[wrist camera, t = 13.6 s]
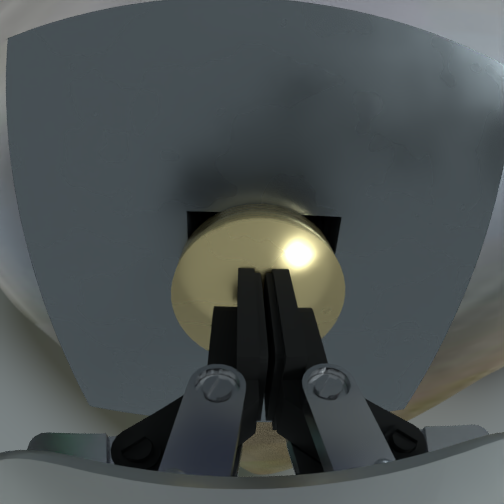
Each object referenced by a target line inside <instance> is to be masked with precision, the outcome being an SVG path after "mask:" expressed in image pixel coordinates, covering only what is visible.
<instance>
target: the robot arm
mask: <svg viewBox="0 0 504 504" xmlns="http://www.w3.org/2000/svg"><path fill="white" fill-rule="evenodd" d="M263 400H264V404H265V418H266V421H272V427H273V430H277V433H278V434H280V435H281V436H283V437H284V438H285V439H286V444H287V448H288V452H289V455H290V459H291V462H292V465H293V469H294V472H295V475H290V476H269V477H238V471H239V466H240V460H241V454H242V448H243V443H244V442H245V441H246V440H247V439H249V438H250V437H251V436H252V435H253V434H255V431H256V423H257V421H261V415H262V408H263ZM0 504H504V432H502V433H495V434H490V435H489V433H488V432H487V431H486V430H485V429H484V428H483V427H481V426H479V425H458V426H426V427H424V428H423V429H419V428H417V427H416V426H414V425H413V424H411V423H409V422H407V421H405V420H403V419H402V418H400V417H398V416H396V415H394V414H392V413H390V412H389V411H387V410H385V409H383V408H381V407H380V406H378V405H376V404H374V403H372V402H371V401H369V400H367V399H365V398H364V396H363V394H362V392H361V390H360V388H359V386H358V385H357V383H356V381H355V379H354V377H353V376H352V375H351V373H350V372H349V371H347V370H346V369H345V368H343V367H340V366H338V365H335V364H329V363H328V361H327V358H326V354H325V350H324V347H323V343H322V340H321V336H320V332H319V329H318V325H317V322H316V318H315V315H314V311H313V309H312V308H298V306H297V301H296V297H295V293H294V289H293V284H292V280H291V276H290V272H289V269H272V271H271V273H266V274H265V284H264V296H263V289H262V279H261V273H255V269H254V268H238V290H237V307H229V306H214V308H213V316H212V325H211V335H210V344H209V354H208V364H207V365H206V366H204V367H201V368H199V369H198V370H196V371H195V372H194V373H193V374H192V376H191V377H190V379H189V381H188V384H187V387H186V390H185V393H184V395H183V396H181V397H179V398H178V399H176V400H175V401H173V402H171V403H170V404H168V405H167V406H165V407H163V408H162V409H160V410H158V411H157V412H155V413H153V414H152V415H150V416H149V417H147V418H145V419H143V420H142V421H140V422H138V423H137V424H135V425H133V426H132V427H130V428H128V429H126V430H124V431H123V432H121V433H120V434H119V435H118V436H111V437H110V436H109V437H108V436H107V434H75V433H74V434H73V433H72V434H71V433H41V434H39V435H37V436H35V437H34V438H33V439H32V440H31V441H30V443H29V446H28V449H27V450H15V451H6V452H2V453H0Z"/></svg>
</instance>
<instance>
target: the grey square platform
mask: <svg viewBox="0 0 504 504" xmlns="http://www.w3.org/2000/svg"><path fill="white" fill-rule="evenodd" d="M6 108H7V126H8V139H9V149H10V158H11V166H12V173H13V180H14V186H15V192H16V198H17V203H18V208H19V213H20V218H21V222H22V227H23V231H24V235H25V239H26V243H27V247H28V251H29V255H30V258H31V262H32V266H33V269H34V272H35V276H36V279H37V282H38V285H39V288H40V291H41V294H42V297H43V300H44V303H45V306H46V309H47V311H48V314H49V317H50V320H51V322H52V325H53V327H54V330H55V332H56V335H57V337H58V340H59V342H60V345H61V347H62V349H63V352H64V354H65V356H66V358H67V361H68V363H69V365H70V367H71V369H72V372H73V374H74V376H75V377H76V379H77V382H78V384H79V386H80V388H81V390H82V392H83V394H84V396H85V398H86V400H87V402H88V403H89V405H90V406H93V407H98V408H104V409H110V410H115V411H122V412H128V413H134V414H142V415H149V416H150V415H152V414H153V413H155V412H157V411H158V410H160V409H162V408H163V407H165V406H167V405H168V404H170V403H171V402H173V401H175V400H176V399H178V398H179V397H181V396H183V395H184V393H185V390H186V387H187V384H188V381H189V379H190V377H191V376H192V374H193V373H194V372H195V371H196V370H198V369H199V368H201V367H204V366H206V365H207V364H208V354H209V351H207V350H206V349H204V348H203V347H201V346H199V345H198V344H197V343H196V342H194V341H193V340H192V339H191V338H190V337H189V336H188V335H187V334H186V333H185V331H184V330H183V329H182V327H181V326H180V324H179V322H178V320H177V318H176V316H175V313H174V311H173V307H172V301H171V287H172V280H173V277H174V274H175V271H176V268H177V265H178V262H179V259H180V256H181V253H182V250H183V248H184V246H185V244H186V242H187V240H188V239H189V238H190V236H191V235H192V233H193V232H194V231H195V230H196V229H197V228H198V227H199V226H200V225H201V224H202V223H204V222H205V221H206V220H207V219H209V218H210V212H222V211H224V210H227V209H230V208H233V207H237V206H241V205H248V204H268V205H276V206H280V207H284V208H287V209H290V210H292V211H295V212H297V213H299V214H301V215H302V216H304V217H306V218H307V219H308V220H310V221H311V222H312V223H314V224H315V225H316V226H317V227H318V228H319V229H320V230H321V232H322V233H323V234H324V236H325V237H326V239H327V241H328V243H329V244H330V246H331V248H332V250H333V252H334V254H335V256H336V258H337V260H338V262H339V264H340V266H341V269H342V272H343V275H344V281H345V298H344V304H343V307H342V310H341V313H340V315H339V317H338V319H337V321H336V322H335V324H334V325H333V327H332V328H331V329H330V330H329V332H328V333H327V334H326V335H325V336H324V337H323V338H322V339H321V340H322V343H323V347H324V350H325V354H326V358H327V361H328V363H329V364H335V365H338V366H340V367H343V368H345V369H346V370H347V371H349V372H350V373H351V375H352V376H353V377H354V379H355V381H356V383H357V385H358V386H359V388H360V390H361V392H362V394H363V396H364V398H365V399H367V400H369V401H371V402H372V403H374V404H376V405H378V406H380V407H381V408H383V409H385V410H387V411H395V410H401V409H404V408H405V407H406V405H407V404H408V402H409V400H410V399H411V397H412V396H413V394H414V392H415V391H416V389H417V387H418V386H419V384H420V382H421V381H422V379H423V377H424V375H425V374H426V372H427V370H428V368H429V366H430V365H431V363H432V361H433V359H434V357H435V355H436V353H437V351H438V350H439V348H440V346H441V344H442V342H443V340H444V338H445V336H446V334H447V332H448V329H449V327H450V325H451V323H452V321H453V319H454V317H455V314H456V312H457V310H458V308H459V305H460V303H461V301H462V298H463V296H464V294H465V291H466V289H467V286H468V284H469V281H470V279H471V276H472V273H473V271H474V268H475V265H476V262H477V260H478V257H479V254H480V251H481V248H482V245H483V242H484V239H485V236H486V232H487V229H488V226H489V222H490V219H491V215H492V212H493V208H494V204H495V201H496V197H497V192H498V188H499V184H500V180H501V175H502V170H503V165H504V65H503V64H501V63H500V62H498V61H496V60H494V59H492V58H490V57H488V56H486V55H483V54H481V53H479V52H477V51H475V50H473V49H470V48H468V47H466V46H464V45H461V44H459V43H456V42H454V41H452V40H449V39H447V38H444V37H441V36H439V35H436V34H433V33H431V32H428V31H425V30H422V29H419V28H416V27H413V26H410V25H407V24H403V23H400V22H397V21H393V20H390V19H386V18H382V17H378V16H374V15H370V14H366V13H362V12H357V11H353V10H348V9H343V8H337V7H332V6H326V5H320V4H313V3H306V2H298V1H289V0H162V1H153V2H145V3H138V4H131V5H125V6H119V7H114V8H109V9H104V10H99V11H94V12H90V13H86V14H82V15H78V16H74V17H70V18H66V19H63V20H59V21H56V22H53V23H49V24H46V25H43V26H40V27H37V28H34V29H31V30H29V31H26V32H23V33H20V34H18V35H15V36H13V37H10V38H8V44H7V62H6ZM257 422H272V421H266V418H265V404H264V400H263V408H262V415H261V421H257Z"/></svg>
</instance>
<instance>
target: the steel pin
mask: <svg viewBox="0 0 504 504" xmlns="http://www.w3.org/2000/svg"><path fill="white" fill-rule="evenodd" d="M238 268H254V269H255V273H261V279H262V289H263V296H264V284H265V274H266V273H271V271H272V269H289V272H290V276H291V280H292V284H293V289H294V293H295V297H296V301H297V306H298V308H312V309H313V311H314V315H315V318H316V322H317V325H318V329H319V332H320V336H321V339H322V338H323V337H324V336H325V335H326V334H327V333H328V332H329V330H330V329H331V328H332V327H333V325H334V324H335V322H336V321H337V319H338V317H339V315H340V313H341V310H342V307H343V304H344V298H345V281H344V275H343V272H342V269H341V266H340V264H339V262H338V260H337V258H336V256H335V254H334V252H333V250H332V248H331V246H330V244H329V243H328V241H327V239H326V237H325V236H324V234H323V233H322V232H321V230H320V229H319V228H318V227H317V226H316V225H315V224H314V223H312V222H311V221H310V220H308V219H307V218H306V217H304V216H302V215H301V214H299V213H297V212H295V211H292V210H290V209H287V208H284V207H280V206H276V205H268V204H248V205H241V206H237V207H233V208H230V209H227V210H224V211H222V212H217V213H216V215H214V216H212V217H211V218H209V219H207V220H206V221H205V222H204V223H202V224H201V225H200V226H199V227H198V228H197V229H196V230H195V231H194V232H193V233H192V235H191V236H190V238H189V239H188V240H187V242H186V244H185V246H184V248H183V250H182V253H181V256H180V259H179V262H178V265H177V268H176V271H175V274H174V277H173V280H172V287H171V301H172V307H173V311H174V313H175V316H176V318H177V320H178V322H179V324H180V326H181V327H182V329H183V330H184V331H185V333H186V334H187V335H188V336H189V337H190V338H191V339H192V340H193V341H194V342H196V343H197V344H198V345H199V346H201V347H203V348H204V349H206V350H207V351H209V344H210V335H211V325H212V316H213V308H214V306H229V307H237V290H238Z"/></svg>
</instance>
